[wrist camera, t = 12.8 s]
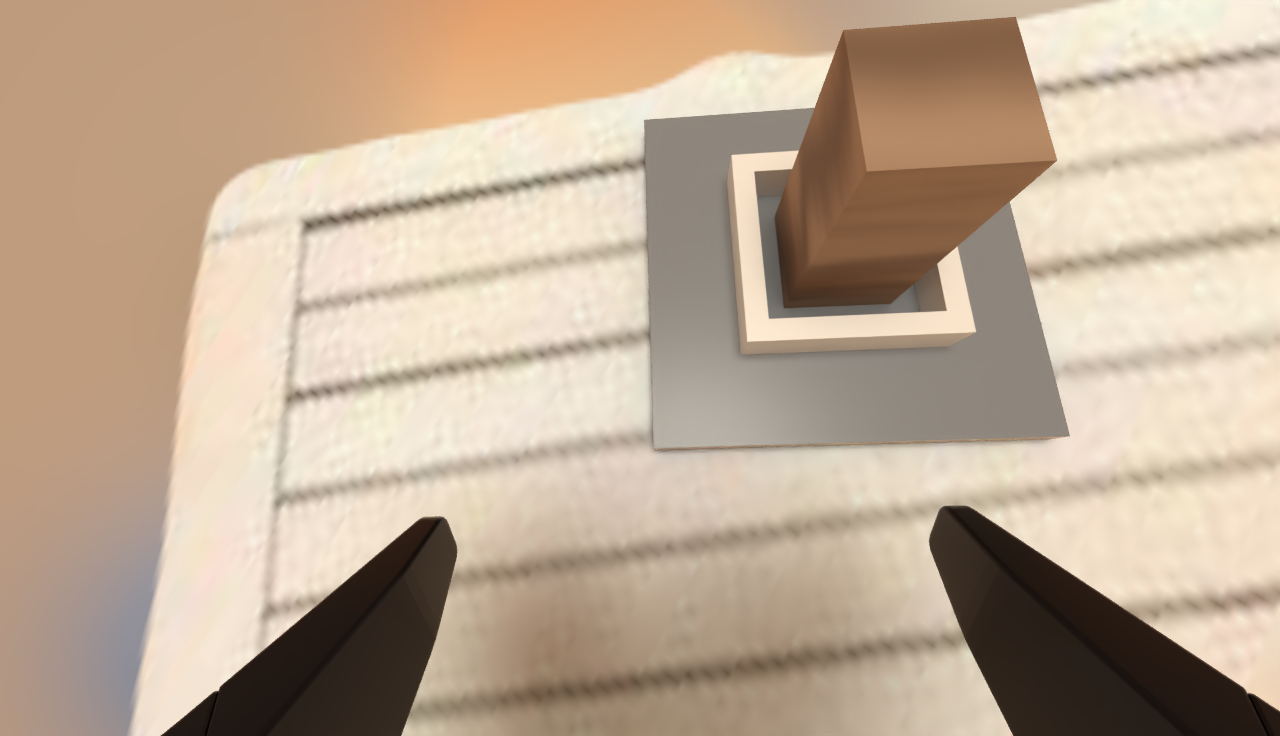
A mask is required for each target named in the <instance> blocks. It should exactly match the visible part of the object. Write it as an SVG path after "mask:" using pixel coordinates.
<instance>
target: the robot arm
mask: <svg viewBox="0 0 1280 736" xmlns="http://www.w3.org/2000/svg"><path fill="white" fill-rule="evenodd" d="M929 545H930V550H931V553H932V555H933V558H934V561H935V563H936V566H937V568H938V571H939V574H940V576H941V579H942V581H943V584H944V587H945V589H946V592H947V594H948V597H949V600H950V602H951V605H952V607H953V610H954V613H955V615H956V618H957V621H958V623H959V626H960V628H961V630H962V633H963V635H964V638H965V640H966V642H967V644H968V646H969V648H970V650H971V652H972V654H973V656H974V658H975V660H976V662H977V664H978V666H979V668H980V670H981V672H982V674H983V676H984V678H985V680H986V682H987V684H988V686H989V688H990V690H991V692H992V694H993V696H994V698H995V700H996V702H997V704H998V706H999V708H1000V710H1001V712H1002V714H1003V716H1004V718H1005V720H1006V722H1007V724H1008V726H1009V728H1010V730H1011V732H1012V734H1013V736H1280V711H1279V710H1277V709H1276V708H1274V707H1272V706H1271V705H1269V704H1268V703H1266V702H1265V701H1263V700H1262V699H1260V698H1259V697H1257V696H1256V695H1254V694H1252V693H1247V692H1246V690H1245V689H1244V688H1243V687H1242V686H1240V685H1239V684H1237V683H1236V682H1234V681H1233V680H1231V679H1230V678H1228V677H1227V676H1225V675H1224V674H1222V673H1221V672H1219V671H1218V670H1216V669H1215V668H1213V667H1212V666H1210V665H1209V664H1207V663H1206V662H1204V661H1203V660H1201V659H1200V658H1198V657H1196V656H1195V655H1193V654H1192V653H1190V652H1189V651H1187V650H1186V649H1184V648H1183V647H1181V646H1180V645H1178V644H1177V643H1175V642H1174V641H1172V640H1171V639H1169V638H1168V637H1166V636H1165V635H1163V634H1162V633H1160V632H1159V631H1157V630H1156V629H1154V628H1153V627H1151V626H1150V625H1148V624H1147V623H1145V622H1144V621H1142V620H1140V619H1139V618H1137V617H1136V616H1134V615H1133V614H1131V613H1130V612H1128V611H1127V610H1125V609H1124V608H1122V607H1121V606H1119V605H1118V604H1116V603H1115V602H1113V601H1112V600H1110V599H1109V598H1107V597H1106V596H1104V595H1103V594H1101V593H1100V592H1098V591H1097V590H1095V589H1094V588H1092V587H1091V586H1089V585H1087V584H1086V583H1084V582H1083V581H1081V580H1080V579H1078V578H1077V577H1075V576H1074V575H1072V574H1071V573H1069V572H1068V571H1066V570H1065V569H1063V568H1062V567H1060V566H1059V565H1057V564H1056V563H1054V562H1053V561H1051V560H1050V559H1048V558H1047V557H1045V556H1044V555H1042V554H1041V553H1039V552H1038V551H1036V550H1035V549H1033V548H1031V547H1030V546H1028V545H1027V544H1025V543H1024V542H1022V541H1021V540H1019V539H1018V538H1016V537H1015V536H1013V535H1012V534H1010V533H1009V532H1007V531H1006V530H1004V529H1003V528H1001V527H1000V526H998V525H997V524H995V523H994V522H992V521H991V520H989V519H988V518H986V517H985V516H983V515H982V514H980V513H979V512H977V511H975V510H974V509H972V508H970V507H968V506H944V507H942V508H941V509H940V510H939V512H938V515H937V517H936V520H935V523H934V526H933V528H932V531H931V534H930V538H929ZM456 558H457V545H456V542H455V540H454V537H453V534H452V532H451V529H450V527H449V524H448V522H447V520H446V519H445V518H444V517H441V516H439V517H423V518H421V519H419V520H418V521H416V522H415V523H414V524H413V525H412V526H411V527H409V528H408V529H407V530H406V531H405V532H403V533H402V534H401V535H400V536H399V537H397V538H396V539H395V540H394V541H393V542H392V543H390V544H389V545H388V546H387V547H386V548H384V549H383V550H382V551H381V552H380V553H378V554H377V555H376V556H375V557H374V558H373V559H371V560H370V561H369V562H368V563H367V564H365V565H364V566H363V567H362V568H361V569H359V570H358V571H357V572H356V573H355V574H353V575H352V576H351V577H350V578H349V579H348V580H346V581H345V582H344V583H343V584H342V585H340V586H339V587H338V588H337V589H336V590H334V591H333V592H332V593H331V594H330V595H329V596H327V597H326V598H325V599H324V600H323V601H321V602H320V603H319V604H318V605H317V606H315V607H314V608H313V609H312V610H311V611H310V612H308V613H307V614H306V615H305V616H304V617H302V618H301V619H300V620H299V621H298V622H296V623H295V624H294V625H293V626H292V627H290V628H289V629H288V630H287V631H286V632H285V633H283V634H282V635H281V636H280V637H279V638H277V639H276V640H275V641H274V642H273V643H271V644H270V645H269V646H268V647H267V648H266V649H264V650H263V651H262V652H261V653H260V654H258V655H257V656H256V657H255V658H254V659H252V660H251V661H250V662H249V663H248V664H247V665H245V666H244V667H243V668H242V669H241V670H239V671H238V672H237V673H236V674H235V675H233V676H232V677H231V678H230V679H229V680H227V681H226V682H225V683H224V684H223V685H222V686H221V687H220V689H219V691H215V692H213V693H212V694H211V695H209V696H208V697H207V698H206V699H205V700H203V701H202V702H201V703H200V704H199V705H198V706H196V707H195V708H194V709H193V710H192V711H190V712H189V713H188V714H187V715H186V716H184V717H183V718H182V719H181V720H180V721H178V722H177V723H176V724H175V725H173V726H172V727H171V728H170V729H169V730H167V731H166V732H165V733H164V734H162V735H161V736H401V735H402V732H403V729H404V727H405V724H406V721H407V718H408V716H409V713H410V710H411V707H412V705H413V702H414V699H415V696H416V693H417V691H418V688H419V685H420V682H421V680H422V677H423V674H424V671H425V669H426V666H427V663H428V660H429V658H430V655H431V652H432V649H433V646H434V643H435V640H436V636H437V633H438V629H439V626H440V622H441V618H442V614H443V610H444V606H445V602H446V598H447V594H448V590H449V586H450V582H451V578H452V574H453V570H454V566H455V562H456Z"/></svg>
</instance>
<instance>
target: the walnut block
mask: <svg viewBox="0 0 1280 736" xmlns="http://www.w3.org/2000/svg"><path fill="white" fill-rule="evenodd" d="M1056 161H1057V158H1056V154H1055V151H1054V148H1053V144H1052V141H1051V137H1050V134H1049V130H1048V127H1047V123H1046V120H1045V117H1044V113H1043V110H1042V106H1041V103H1040V99H1039V96H1038V92H1037V89H1036V85H1035V82H1034V79H1033V75H1032V72H1031V68H1030V65H1029V61H1028V58H1027V54H1026V51H1025V47H1024V44H1023V41H1022V37H1021V34H1020V30H1019V27H1018V23H1017V20H1016V17H1010V18H997V19H984V20H971V21H958V22H944V23H931V24H920V25H905V26H894V27H893V26H892V27H880V28H866V29H853V30H843V33H842V36H841V38H840V41H839V44H838V46H837V49H836V52H835V54H834V57H833V60H832V63H831V65H830V68H829V71H828V73H827V76H826V79H825V81H824V84H823V87H822V90H821V92H820V95H819V98H818V100H817V103H816V106H815V108H814V111H813V114H812V117H811V119H810V122H809V125H808V127H807V130H806V133H805V136H804V138H803V141H802V144H801V146H800V149H799V152H798V154H797V157H796V160H795V163H794V165H793V168H792V171H791V173H790V176H789V179H788V181H787V184H786V187H785V190H784V192H783V195H782V198H781V200H780V203H779V206H778V209H777V211H776V214H775V217H774V218H775V227H776V237H777V247H778V256H779V266H780V276H781V285H782V295H783V305H784V308H804V307H828V306H853V305H877V304H891V303H892V302H893V301H895V300H896V299H897V298H898V297H899V296H900V295H902V294H903V293H904V292H905V291H906V290H907V289H908V288H910V287H911V286H912V285H913V284H914V283H915V282H917V281H918V280H919V279H920V278H921V277H922V276H924V275H925V274H926V273H927V272H928V271H929V270H931V269H932V268H933V267H934V266H935V265H936V264H938V263H939V262H940V261H941V260H942V259H943V258H944V257H946V256H947V255H948V254H949V253H950V252H951V251H953V250H954V249H955V248H956V247H957V246H958V245H960V244H961V243H962V242H963V241H964V240H965V239H967V238H968V237H969V236H970V235H971V234H972V233H973V232H975V231H976V230H977V229H978V228H979V227H980V226H982V225H983V224H984V223H985V222H986V221H987V220H989V219H990V218H991V217H992V216H993V215H994V214H996V213H997V212H998V211H999V210H1000V209H1001V208H1002V207H1004V206H1005V205H1006V204H1007V203H1008V202H1009V201H1011V200H1012V199H1013V198H1014V197H1015V196H1016V195H1018V194H1019V193H1020V192H1021V191H1022V190H1023V189H1025V188H1026V187H1027V186H1028V185H1029V184H1030V183H1032V182H1033V181H1034V180H1035V179H1036V178H1037V177H1038V176H1040V175H1041V174H1042V173H1043V172H1044V171H1045V170H1047V169H1048V168H1049V167H1050V166H1051V165H1052V164H1054V163H1055V162H1056Z"/></svg>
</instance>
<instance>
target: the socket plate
mask: <svg viewBox="0 0 1280 736" xmlns="http://www.w3.org/2000/svg"><path fill="white" fill-rule="evenodd" d="M813 111H814V108H808V109H793V110H779V111H765V112H751V113H737V114H722V115H708V116H694V117H680V118H666V119H651V120H644V128H645V162H646V197H647V231H648V265H649V300H650V334H651V368H652V403H653V437H654V450H681V449H717V448H752V447H788V446H824V445H860V444H895V443H931V442H967V441H1003V440H1038V439H1054V438H1061V437H1068V436H1070V435H1069V431H1068V427H1067V423H1066V419H1065V415H1064V411H1063V407H1062V404H1061V400H1060V396H1059V392H1058V388H1057V384H1056V380H1055V376H1054V373H1053V369H1052V365H1051V361H1050V357H1049V353H1048V349H1047V345H1046V341H1045V338H1044V334H1043V330H1042V326H1041V322H1040V318H1039V314H1038V310H1037V306H1036V303H1035V299H1034V295H1033V291H1032V287H1031V283H1030V279H1029V275H1028V272H1027V268H1026V264H1025V260H1024V256H1023V252H1022V248H1021V244H1020V240H1019V237H1018V233H1017V229H1016V225H1015V221H1014V217H1013V213H1012V209H1011V205H1010V202H1008V203H1007V204H1006V205H1005V206H1004V207H1002V208H1001V209H1000V210H999V211H998V212H997V213H996V214H994V215H993V216H992V217H991V218H990V219H989V220H987V221H986V222H985V223H984V224H983V225H982V226H980V227H979V228H978V229H977V230H976V231H975V232H973V233H972V234H971V235H970V236H969V237H968V238H967V239H965V240H964V241H963V242H962V243H961V244H960V245H958V246H957V247H956V248H955V249H954V250H953V251H951V252H950V253H949V254H948V255H947V256H946V257H944V258H943V259H942V260H941V261H940V262H939V263H938V264H936V265H935V266H934V267H933V268H932V269H931V270H929V271H928V272H927V273H926V274H925V275H924V276H922V277H921V278H920V279H919V280H918V281H917V282H915V283H914V284H913V285H912V286H911V287H910V288H908V289H907V290H906V291H905V292H904V293H903V294H902V295H900V296H899V297H898V298H897V299H896V300H895V301H893V302H892V303H891V304H877V305H853V306H828V307H804V308H784V305H783V295H782V285H781V276H780V266H779V256H778V247H777V237H776V227H775V218H774V217H775V214H776V211H777V209H778V206H779V203H780V200H781V198H782V195H783V192H784V190H785V187H786V184H787V181H788V179H789V176H790V173H791V171H792V168H793V165H794V163H795V160H796V157H797V154H798V152H799V149H800V146H801V144H802V141H803V138H804V136H805V133H806V130H807V127H808V125H809V122H810V119H811V117H812V114H813Z"/></svg>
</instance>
